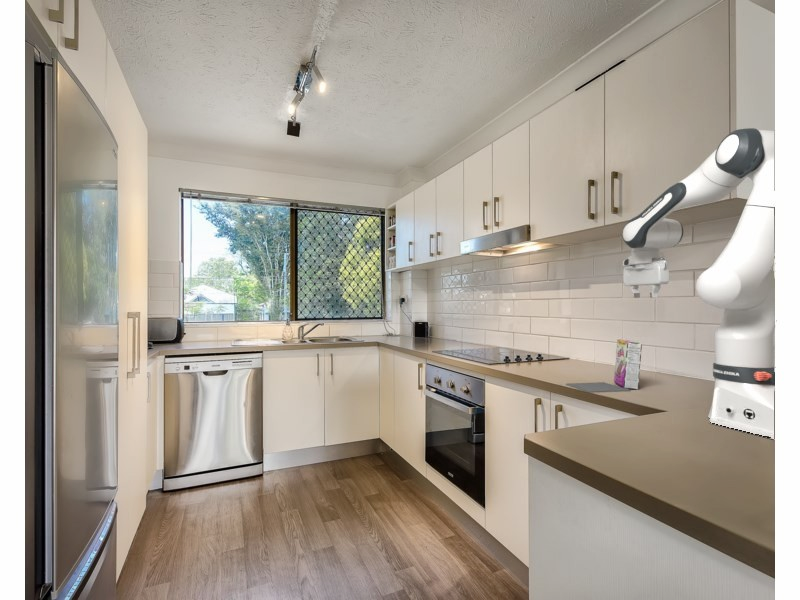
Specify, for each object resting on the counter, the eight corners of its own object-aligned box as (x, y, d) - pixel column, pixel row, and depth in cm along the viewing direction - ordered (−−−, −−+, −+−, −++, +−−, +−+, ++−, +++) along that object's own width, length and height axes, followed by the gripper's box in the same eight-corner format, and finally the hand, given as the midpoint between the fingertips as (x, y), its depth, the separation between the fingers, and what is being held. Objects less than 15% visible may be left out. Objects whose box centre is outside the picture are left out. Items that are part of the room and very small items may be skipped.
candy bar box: (612, 382, 148) (616, 338, 149) (627, 384, 147) (631, 340, 147) (623, 388, 138) (627, 341, 138) (638, 390, 136) (643, 342, 137)
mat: (630, 390, 135) (630, 389, 135) (589, 392, 133) (589, 391, 133) (603, 383, 149) (603, 382, 149) (565, 384, 146) (565, 383, 146)
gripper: (674, 256, 133) (674, 297, 133) (635, 262, 153) (635, 297, 153) (656, 256, 132) (656, 297, 132) (619, 262, 153) (619, 297, 153)
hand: (644, 297), depth 143 cm, fingers open, 8 cm apart
